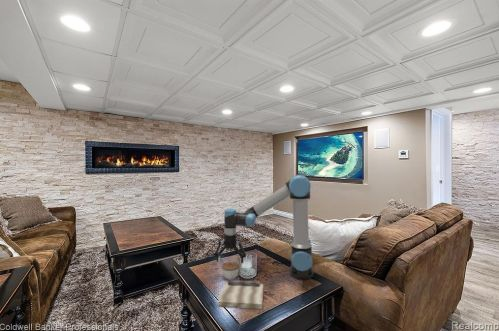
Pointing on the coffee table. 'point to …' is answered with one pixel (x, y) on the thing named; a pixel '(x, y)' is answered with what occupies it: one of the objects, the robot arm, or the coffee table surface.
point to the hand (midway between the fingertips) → (229, 267)
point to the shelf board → (242, 294)
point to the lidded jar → (230, 270)
